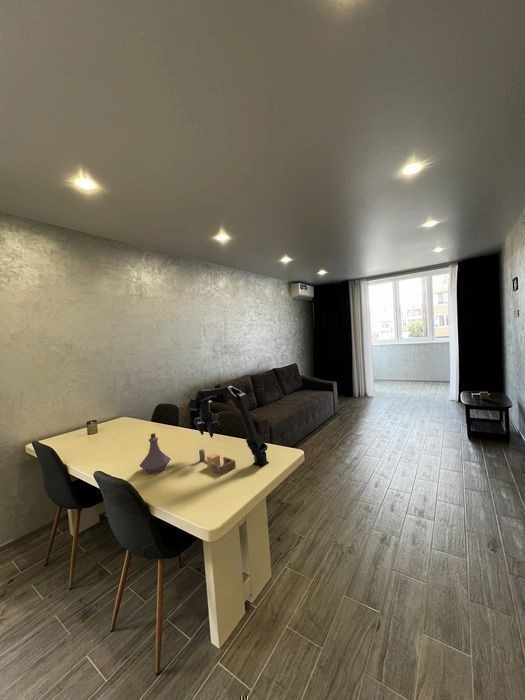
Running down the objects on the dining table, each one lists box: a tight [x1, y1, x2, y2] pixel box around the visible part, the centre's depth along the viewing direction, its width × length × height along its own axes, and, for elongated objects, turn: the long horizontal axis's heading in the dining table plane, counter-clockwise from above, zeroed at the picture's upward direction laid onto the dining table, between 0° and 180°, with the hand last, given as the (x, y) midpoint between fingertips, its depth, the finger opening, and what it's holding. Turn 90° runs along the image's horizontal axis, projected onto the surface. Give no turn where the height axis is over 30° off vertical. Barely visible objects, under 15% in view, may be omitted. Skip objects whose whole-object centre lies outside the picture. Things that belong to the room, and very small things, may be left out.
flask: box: [138, 432, 172, 475], centre depth 147 cm, size 16×16×20 cm
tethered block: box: [198, 448, 222, 469], centre depth 150 cm, size 16×5×6 cm, turn 44°
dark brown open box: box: [210, 456, 237, 476], centre depth 142 cm, size 9×10×4 cm
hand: (207, 436), depth 161 cm, fingers open, 9 cm apart
